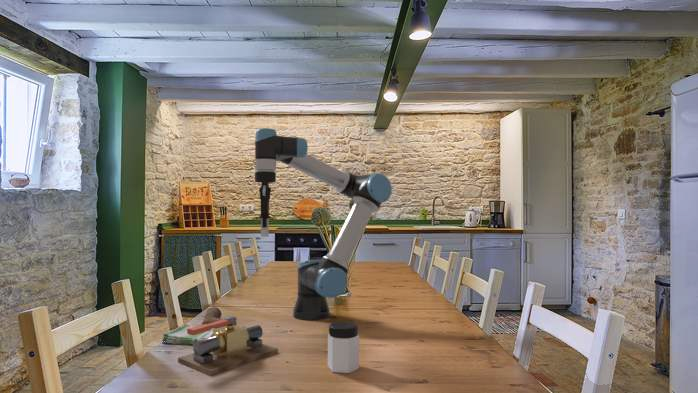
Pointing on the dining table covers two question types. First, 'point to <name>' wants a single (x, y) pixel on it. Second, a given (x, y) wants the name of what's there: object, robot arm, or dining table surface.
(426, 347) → the dining table surface
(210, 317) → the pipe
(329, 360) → the jar
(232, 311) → the dining table surface
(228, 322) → the lever
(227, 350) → the valve body
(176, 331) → the dish towel
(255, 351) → the mount board
